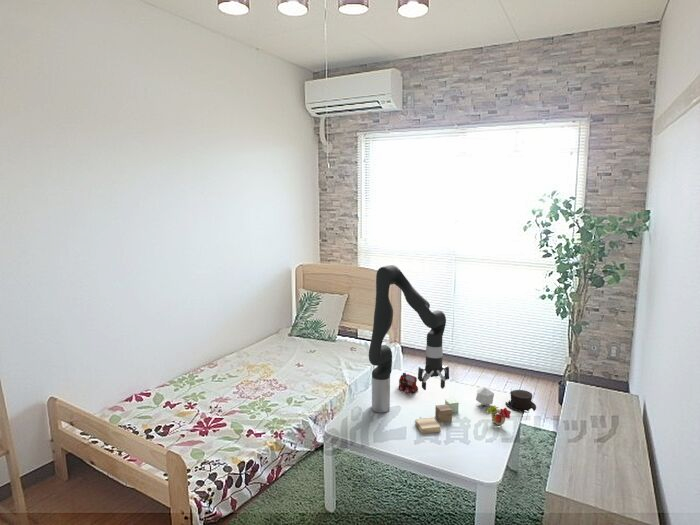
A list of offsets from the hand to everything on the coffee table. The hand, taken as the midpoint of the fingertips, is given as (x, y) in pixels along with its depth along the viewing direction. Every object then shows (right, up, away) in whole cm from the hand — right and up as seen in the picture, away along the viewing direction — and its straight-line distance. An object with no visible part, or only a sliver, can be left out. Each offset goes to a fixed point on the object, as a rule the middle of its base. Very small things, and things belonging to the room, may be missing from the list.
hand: (433, 388), depth 208 cm
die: (+32, -17, +29) cm, 46 cm away
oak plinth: (-2, -20, +5) cm, 21 cm away
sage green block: (+14, -18, +24) cm, 33 cm away
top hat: (+51, -17, +28) cm, 61 cm away
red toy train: (-6, -15, +47) cm, 50 cm away
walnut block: (+8, -19, +14) cm, 25 cm away
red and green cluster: (+33, -20, +9) cm, 40 cm away
